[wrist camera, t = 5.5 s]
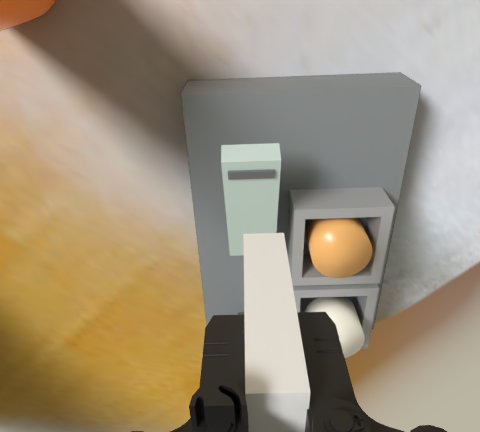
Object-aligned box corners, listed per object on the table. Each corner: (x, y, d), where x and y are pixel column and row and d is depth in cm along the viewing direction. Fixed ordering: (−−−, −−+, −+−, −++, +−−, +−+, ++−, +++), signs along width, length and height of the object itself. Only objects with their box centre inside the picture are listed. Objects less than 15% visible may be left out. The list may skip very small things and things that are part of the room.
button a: (302, 332, 36) (307, 360, 33) (305, 295, 33) (310, 322, 31) (352, 331, 35) (361, 359, 33) (358, 293, 33) (368, 320, 31)
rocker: (230, 240, 32) (229, 257, 31) (221, 145, 24) (221, 164, 23) (273, 238, 32) (275, 256, 31) (279, 143, 24) (281, 162, 23)
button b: (304, 254, 33) (309, 278, 30) (307, 208, 31) (313, 230, 28) (358, 253, 33) (368, 277, 30) (365, 207, 30) (376, 228, 28)
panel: (210, 304, 42) (205, 359, 36) (187, 80, 30) (174, 107, 24) (362, 300, 42) (382, 355, 36) (400, 72, 30) (440, 97, 24)
